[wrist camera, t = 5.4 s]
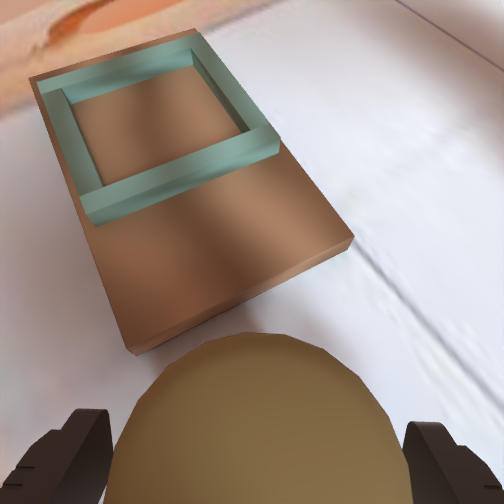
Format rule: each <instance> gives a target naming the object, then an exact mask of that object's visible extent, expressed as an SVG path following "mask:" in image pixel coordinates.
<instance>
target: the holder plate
mask: <svg viewBox="0 0 504 504" xmlns="http://www.w3.org/2000/svg"><path fill="white" fill-rule="evenodd" d="M29 81H30V84H31V87H32V89H33V92H34V95H35V98H36V100H37V103H38V106H39V109H40V111H41V114H42V117H43V120H44V123H45V125H46V128H47V131H48V134H49V136H50V139H51V142H52V145H53V147H54V150H55V153H56V156H57V158H58V161H59V164H60V167H61V169H62V172H63V175H64V178H65V180H66V183H67V186H68V189H69V191H70V194H71V197H72V200H73V203H74V205H75V208H76V211H77V214H78V216H79V219H80V222H81V225H82V227H83V230H84V233H85V236H86V238H87V241H88V244H89V247H90V249H91V252H92V255H93V258H94V260H95V263H96V266H97V269H98V271H99V274H100V277H101V280H102V283H103V285H104V288H105V291H106V294H107V296H108V299H109V302H110V305H111V307H112V310H113V313H114V316H115V318H116V321H117V324H118V327H119V329H120V332H121V335H122V338H123V340H124V343H125V346H126V349H127V350H128V351H130V352H132V353H133V354H135V355H136V356H138V355H140V354H142V353H144V352H146V351H148V350H150V349H152V348H154V347H156V346H158V345H160V344H162V343H164V342H166V341H168V340H170V339H172V338H173V337H175V336H177V335H179V334H181V333H183V332H185V331H187V330H189V329H191V328H193V327H195V326H197V325H199V324H201V323H203V322H205V321H207V320H209V319H211V318H213V317H215V316H217V315H219V314H221V313H223V312H225V311H227V310H229V309H231V308H233V307H235V306H237V305H239V304H241V303H243V302H245V301H247V300H249V299H251V298H253V297H255V296H257V295H259V294H261V293H263V292H265V291H266V290H268V289H270V288H272V287H274V286H276V285H278V284H280V283H282V282H284V281H286V280H288V279H290V278H292V277H294V276H296V275H298V274H300V273H302V272H304V271H306V270H308V269H310V268H312V267H314V266H316V265H318V264H320V263H322V262H324V261H326V260H328V259H330V258H332V257H334V256H336V255H338V254H340V253H342V252H344V251H346V250H347V249H348V248H349V246H350V244H351V242H352V240H353V238H354V234H353V233H352V232H351V230H350V229H349V228H348V226H347V225H346V224H345V223H344V221H343V220H342V219H341V217H340V216H339V215H338V213H337V212H336V211H335V210H334V208H333V207H332V206H331V204H330V203H329V202H328V200H327V199H326V198H325V197H324V195H323V194H322V193H321V191H320V190H319V189H318V187H317V186H316V185H315V184H314V182H313V181H312V180H311V178H310V177H309V176H308V174H307V173H306V172H305V171H304V169H303V168H302V167H301V165H300V164H299V163H298V161H297V160H296V159H295V158H294V156H293V155H292V154H291V152H290V151H289V150H288V148H287V147H286V146H285V145H284V143H283V142H282V141H281V139H280V138H281V137H280V136H279V134H278V133H277V132H276V130H275V129H274V128H273V127H272V125H271V124H270V123H269V121H268V120H267V119H266V118H265V116H264V115H263V114H262V112H261V111H260V110H259V108H258V107H257V106H256V105H255V103H254V102H253V101H252V99H251V98H250V97H249V96H248V94H247V93H246V92H245V90H244V89H243V88H242V87H241V85H240V84H239V83H238V81H237V80H236V79H235V77H234V76H233V75H232V74H231V72H230V71H229V70H228V68H227V67H226V66H225V65H224V63H223V62H222V61H221V59H220V58H219V57H218V55H217V54H216V53H215V52H214V50H213V49H212V48H211V46H210V45H209V44H208V43H207V41H206V40H205V39H204V37H203V36H202V35H201V33H198V32H197V30H196V29H195V28H193V29H190V30H187V31H183V32H180V33H177V34H173V35H170V36H167V37H163V38H160V39H157V40H153V41H150V42H147V43H144V44H140V45H137V46H134V47H130V48H127V49H124V50H120V51H117V52H114V53H110V54H107V55H104V56H100V57H97V58H94V59H90V60H87V61H84V62H80V63H77V64H74V65H70V66H67V67H64V68H60V69H57V70H54V71H50V72H47V73H44V74H40V75H37V76H34V77H30V78H29Z"/></svg>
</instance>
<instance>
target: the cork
mask: <svg viewBox="0 0 504 504" xmlns="http://www.w3.org/2000/svg"><path fill="white" fill-rule="evenodd" d="M103 504H413V498H412V490H411V482H410V474H409V467H408V464H407V461H406V459H405V456H404V454H403V451H402V449H401V446H400V444H399V441H398V439H397V436H396V434H395V431H394V429H393V426H392V424H391V421H390V419H389V416H388V415H387V413H386V412H385V411H384V409H383V408H382V407H381V405H380V404H379V403H378V401H377V400H376V399H375V397H374V396H373V395H372V393H371V392H370V391H369V389H368V388H367V387H366V385H365V384H364V383H363V381H362V380H361V379H360V377H359V376H358V375H356V374H355V373H354V372H353V371H351V370H350V369H349V368H347V367H346V366H345V365H343V364H342V363H341V362H340V361H338V360H337V359H336V358H334V357H333V356H332V355H330V354H329V353H328V352H327V351H325V350H324V349H322V348H319V347H316V346H314V345H311V344H309V343H306V342H303V341H301V340H298V339H295V338H293V337H290V336H288V335H285V334H267V333H249V332H244V333H240V334H236V335H233V336H229V337H225V338H221V339H217V340H213V341H210V342H206V343H204V344H203V345H201V346H199V347H198V348H196V349H195V350H193V351H191V352H190V353H188V354H187V355H185V356H183V357H182V358H180V359H179V360H177V361H175V362H174V363H172V364H171V365H169V366H168V367H167V368H166V369H165V371H164V372H163V373H162V374H161V375H160V376H159V377H158V378H157V380H156V381H155V382H154V383H153V384H152V385H151V386H150V387H149V389H148V390H147V391H146V392H145V393H144V394H143V395H142V396H141V398H140V399H139V400H138V401H137V403H136V405H135V407H134V409H133V411H132V413H131V415H130V417H129V419H128V421H127V423H126V425H125V427H124V429H123V431H122V433H121V435H120V437H119V439H118V441H117V444H116V446H115V448H114V453H113V458H112V463H111V468H110V472H109V477H108V482H107V487H106V492H105V497H104V501H103Z"/></svg>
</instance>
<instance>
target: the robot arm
mask: <svg viewBox="0 0 504 504" xmlns="http://www.w3.org/2000/svg"><path fill="white" fill-rule="evenodd" d="M402 451H403V454H404V456H405V459H406V461H407V464H408V467H409V474H410V482H411V490H412V498H413V504H504V490H503V489H502V485H501V484H500V482H499V481H498V479H497V478H496V477H495V475H494V474H493V472H492V471H491V469H490V468H489V467H488V465H487V464H486V463H485V462H484V461H483V460H481V459H480V458H479V457H478V456H477V455H476V454H475V453H473V452H472V451H471V450H470V449H469V448H468V447H467V446H461V445H457V444H456V443H455V441H454V440H453V438H452V437H451V435H450V434H449V432H448V431H447V429H446V428H445V426H444V425H443V424H441V423H439V422H415V421H410V422H409V423H408V425H407V428H406V433H405V438H404V443H403V448H402ZM113 453H114V452H113V444H112V435H111V427H110V419H109V413H108V411H107V410H106V409H80V408H78V409H76V410H75V411H74V412H73V413H72V414H71V416H70V417H69V418H68V420H67V421H66V423H65V424H64V426H63V427H62V429H61V430H52V429H51V430H50V431H49V432H48V433H47V434H45V435H44V436H43V437H42V438H40V439H39V440H38V441H37V442H35V443H34V444H33V445H32V446H31V447H30V448H29V449H28V451H27V452H26V453H25V455H24V456H23V457H22V459H21V460H20V461H19V463H18V464H17V465H16V468H15V470H13V471H12V472H11V473H10V475H9V476H8V477H7V479H6V480H5V481H4V483H3V486H2V488H0V504H98V503H99V500H100V498H101V496H102V494H103V491H104V489H105V487H106V485H107V482H108V477H109V472H110V468H111V463H112V458H113Z"/></svg>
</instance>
